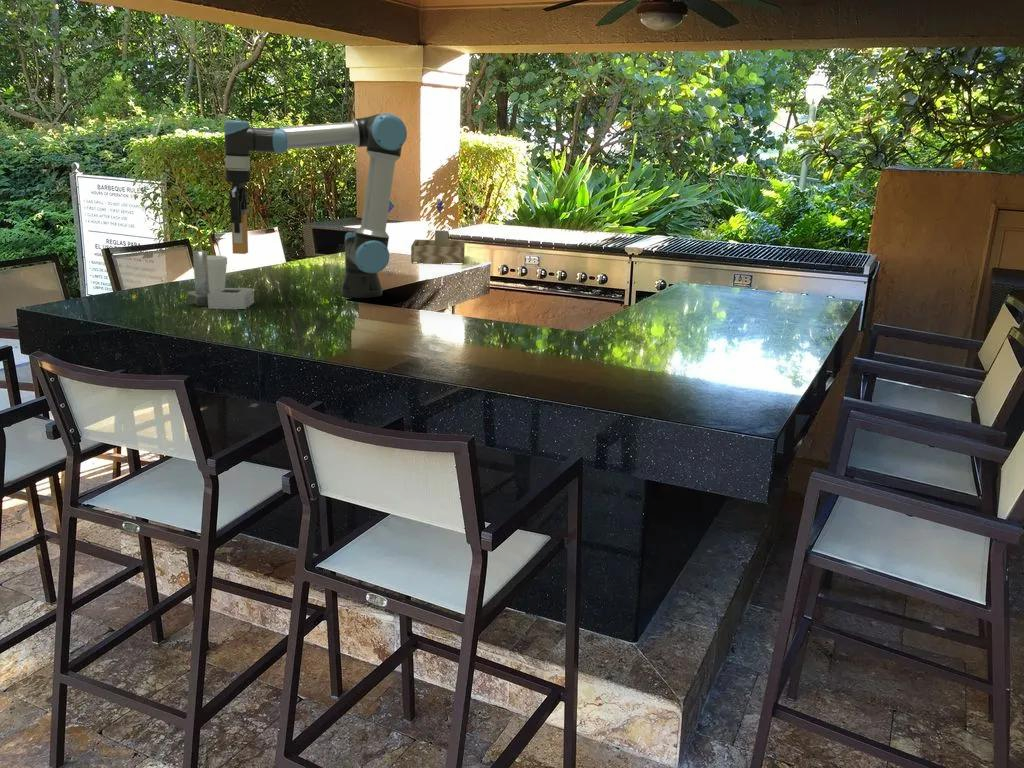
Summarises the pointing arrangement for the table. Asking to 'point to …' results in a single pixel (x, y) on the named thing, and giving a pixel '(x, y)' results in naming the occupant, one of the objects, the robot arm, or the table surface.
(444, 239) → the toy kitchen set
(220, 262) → the foam cup
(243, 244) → the wedge pin
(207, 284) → the grey angular stepped piece
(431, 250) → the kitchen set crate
